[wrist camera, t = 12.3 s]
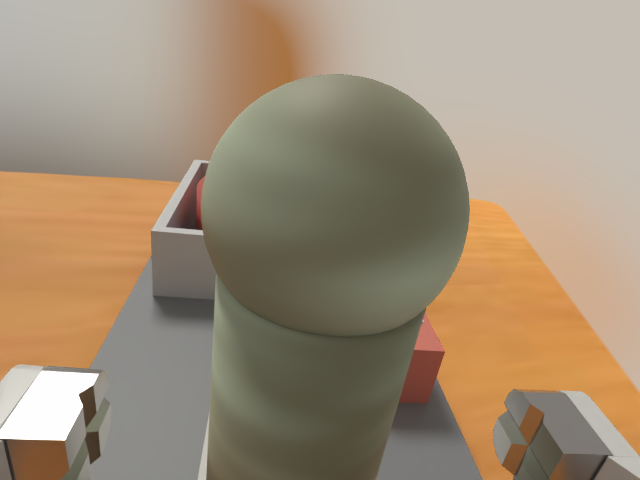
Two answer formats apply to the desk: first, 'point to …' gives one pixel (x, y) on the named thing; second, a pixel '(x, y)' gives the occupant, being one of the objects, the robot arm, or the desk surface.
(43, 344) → the desk surface
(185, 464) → the game board
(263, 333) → the pawn
